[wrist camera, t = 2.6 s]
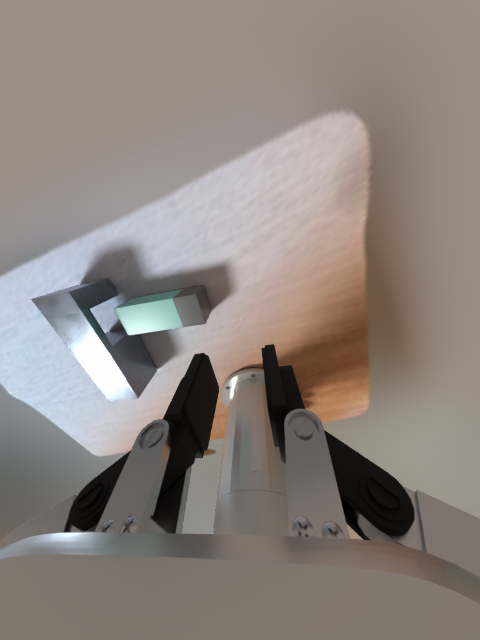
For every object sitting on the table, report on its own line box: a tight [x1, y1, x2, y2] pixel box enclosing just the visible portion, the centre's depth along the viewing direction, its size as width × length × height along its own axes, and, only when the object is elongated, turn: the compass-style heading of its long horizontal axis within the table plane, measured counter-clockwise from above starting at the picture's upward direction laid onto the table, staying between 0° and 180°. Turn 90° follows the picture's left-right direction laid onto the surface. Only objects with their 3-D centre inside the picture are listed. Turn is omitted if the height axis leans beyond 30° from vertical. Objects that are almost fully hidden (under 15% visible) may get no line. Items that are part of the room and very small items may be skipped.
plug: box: [114, 285, 211, 335], centre depth 24 cm, size 11×4×4 cm, turn 101°
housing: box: [31, 279, 157, 401], centre depth 26 cm, size 5×17×6 cm, turn 11°
